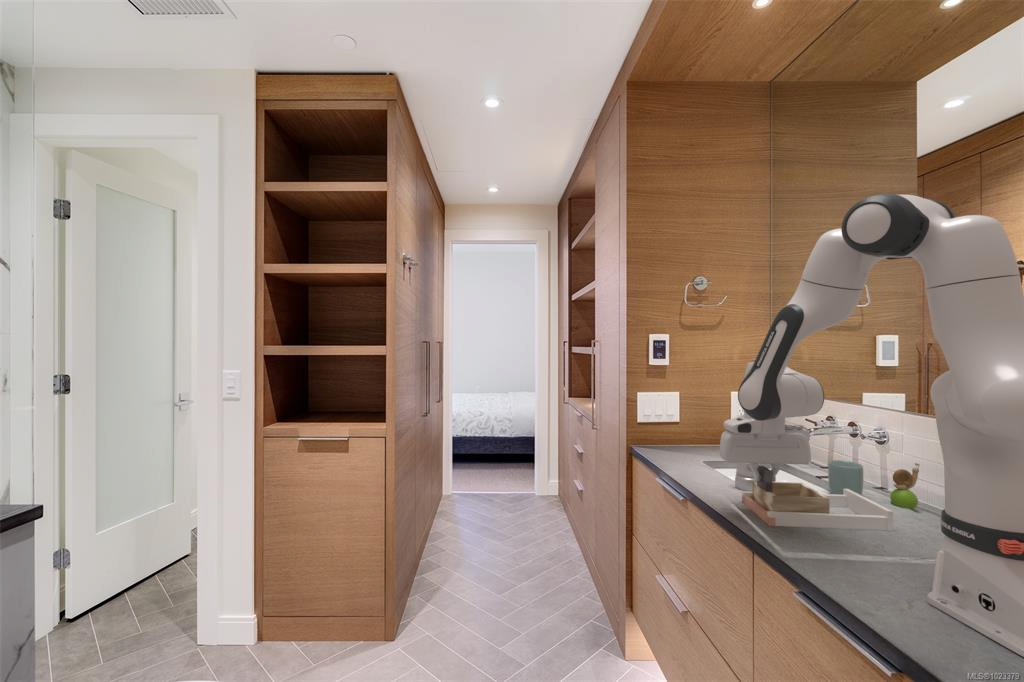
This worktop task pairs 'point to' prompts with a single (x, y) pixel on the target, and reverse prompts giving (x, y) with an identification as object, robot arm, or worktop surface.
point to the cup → (845, 477)
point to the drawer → (787, 496)
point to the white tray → (868, 511)
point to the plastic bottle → (744, 477)
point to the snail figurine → (905, 488)
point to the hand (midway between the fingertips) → (764, 480)
